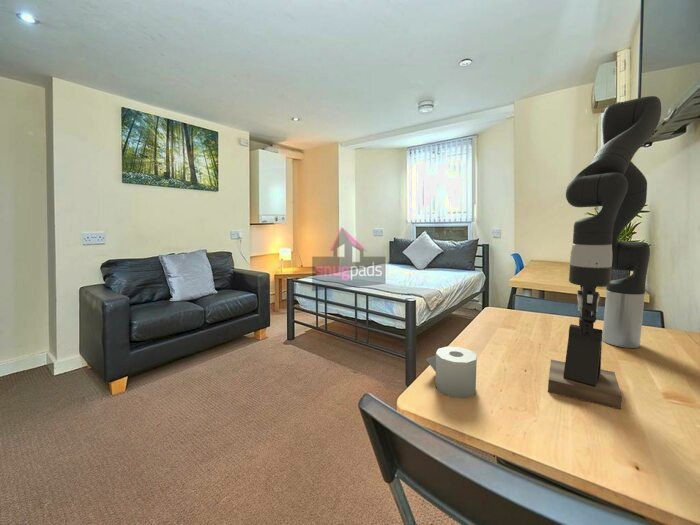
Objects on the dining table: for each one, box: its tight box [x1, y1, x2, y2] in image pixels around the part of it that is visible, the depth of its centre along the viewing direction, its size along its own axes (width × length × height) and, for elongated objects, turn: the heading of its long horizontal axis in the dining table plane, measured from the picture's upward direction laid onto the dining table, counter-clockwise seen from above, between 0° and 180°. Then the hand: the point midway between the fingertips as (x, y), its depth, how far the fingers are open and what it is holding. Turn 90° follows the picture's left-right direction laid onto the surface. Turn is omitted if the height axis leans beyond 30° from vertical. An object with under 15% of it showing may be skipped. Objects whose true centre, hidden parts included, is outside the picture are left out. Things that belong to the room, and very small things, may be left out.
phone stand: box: [563, 323, 603, 387], centre depth 72 cm, size 9×6×12 cm, turn 134°
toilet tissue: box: [425, 346, 478, 399], centre depth 75 cm, size 9×13×9 cm
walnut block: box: [547, 359, 623, 411], centre depth 73 cm, size 13×13×3 cm
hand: (585, 331), depth 72 cm, fingers open, 8 cm apart
